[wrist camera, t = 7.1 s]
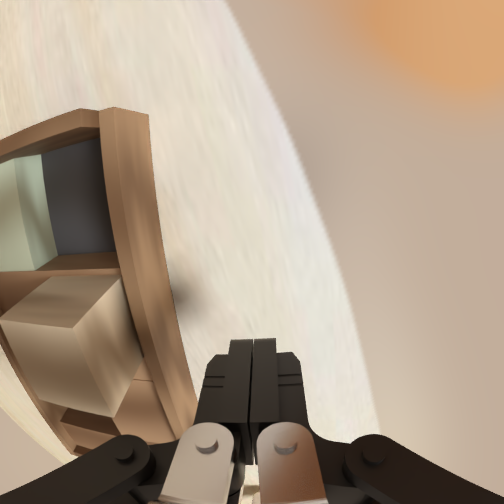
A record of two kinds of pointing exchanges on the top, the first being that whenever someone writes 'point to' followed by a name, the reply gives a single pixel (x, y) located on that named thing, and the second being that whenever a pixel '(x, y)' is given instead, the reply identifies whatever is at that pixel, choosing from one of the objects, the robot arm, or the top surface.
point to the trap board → (95, 258)
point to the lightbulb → (256, 498)
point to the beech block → (76, 341)
